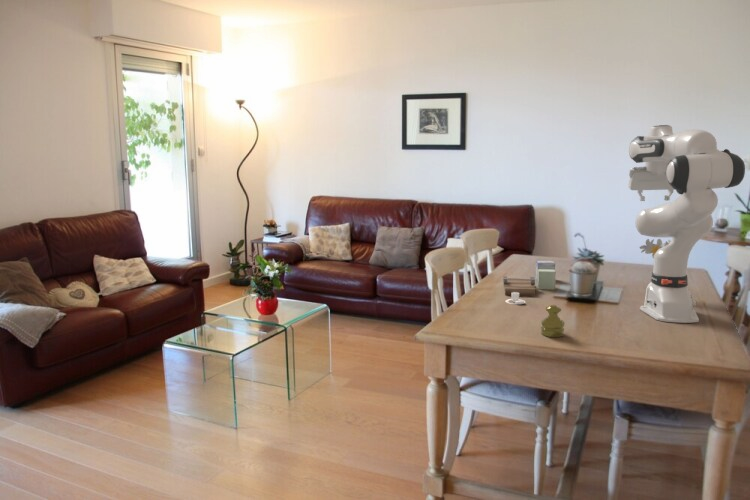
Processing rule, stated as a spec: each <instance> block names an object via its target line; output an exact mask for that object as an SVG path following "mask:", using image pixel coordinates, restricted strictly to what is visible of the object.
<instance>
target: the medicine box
mask: <svg viewBox="0 0 750 500" xmlns="http://www.w3.org/2000/svg"><path fill="white" fill-rule="evenodd" d="M535 264H536V265H535V281H536V282H538V269H548V270H555V271H556V263H555V262H554V261H553V260H536V263H535Z"/></svg>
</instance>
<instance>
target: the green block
mask: <svg viewBox="0 0 750 500" xmlns="http://www.w3.org/2000/svg"><path fill="white" fill-rule="evenodd" d="M537 289H538V290H556V269H555V270H548V269H538V281H537Z"/></svg>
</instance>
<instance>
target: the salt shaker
mask: <svg viewBox="0 0 750 500" xmlns="http://www.w3.org/2000/svg"><path fill="white" fill-rule="evenodd" d="M545 310H546V312H547V313H548V315H547V316H546V317H545V318H543V319H542V320H541V327H540V328H541V329H540V331H541V332H540V333H541V335H542V336H545V337H549V338H561V337H563V336H564V334H565V328H564V326H565V321H564V320H563V319H561V318H560V317H559V315H558V314H559V313H561V311H562V308H561V307H560V306H557V305H555V304H551V305H548V306H546V307H545Z"/></svg>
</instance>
